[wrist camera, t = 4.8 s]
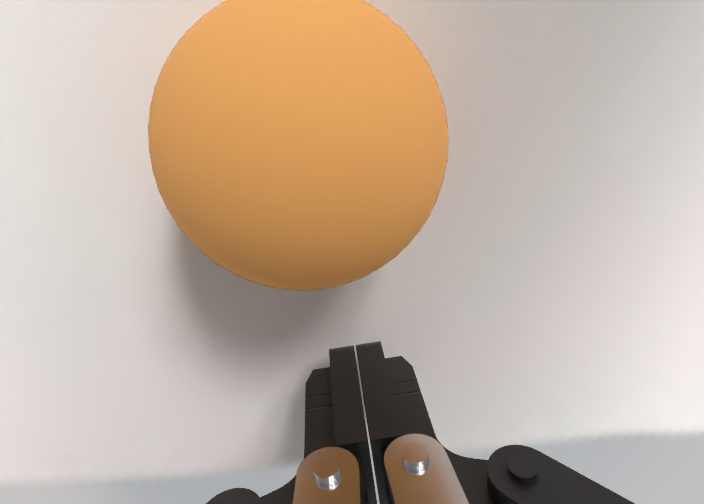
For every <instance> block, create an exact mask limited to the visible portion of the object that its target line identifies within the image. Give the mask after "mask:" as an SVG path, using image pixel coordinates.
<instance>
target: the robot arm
mask: <svg viewBox="0 0 704 504" xmlns="http://www.w3.org/2000/svg"><path fill="white" fill-rule="evenodd" d="M356 350H357V357H358V364H359V371H360V377H361V384H362V391H363V398H364V405H365V411H366V418H367V424H368V431H369V437H370V443H371V450H372V456H373V463H374V469H375V476H376V482H377V488H378V495H379V501H380V504H634V503H633V502H631V501H629V500H627V499H625V498H623V497H622V496H620V495H618V494H616V493H614V492H612V491H610V490H609V489H607V488H605V487H603V486H601V485H600V484H598V483H596V482H594V481H592V480H591V479H588V478H587V477H585V476H583V475H581V474H580V473H578V472H576V471H574V470H572V469H570V468H569V467H567V466H565V465H563V464H561V463H559V462H558V461H556V460H554V459H552V458H550V457H548V456H547V455H545V454H543V453H541V452H539V451H537V450H535V449H533V448H530V447H527V446H522V445H509V446H504V447H502V448H499V449H498V450H496V451H495V452H494V453H493V454H492V455H491V456H490V458H489V460H480V459H473V458H467V457H462V456H459V455H457V454H454V453H452V452H451V451H449V450H447V449H446V448H445V447H444V446H442V444H441V443H440V442H439V441H438V439H437V438H436V435H435V433H434V430H433V427H432V424H431V421H430V418H429V415H428V412H427V409H426V406H425V403H424V400H423V397H422V394H421V392H420V388H419V385H418V382H417V379H416V376H415V373H414V370H413V367H412V366H411V365H410V364H409V363H408V362H407V361H406V360H405V359H404V358H403V357H402V356H399V357H392V358H386V359H385V358H384V354H383V350H382V345H381V342H380V341H379V342H373V343H366V344H360V345H356ZM329 357H330V367H328V368H322V369H315V370H313V371H312V373H311V375H310V376H309V378H308V380H307V382H306V393H305V397H306V400H305V411H306V412H305V449H304V460H303V461H302V463H301V464H300V466H299V468H298V470H297V474H296V476H295V477H294V478H293V479H292V480H291V481H290V482H289V483H287V484H286V485H284V486H283V487H281V488H279V489H277V490H275V491H273V492H271V493H269V494H267V495H265V496H262V497H259V496H258V495H257V494H256V493H255V492H253V491H251V490H249V489H245V488H234V489H230V490H227V491H224V492H222V493H220V494H218V495H216V496H215V497H214V498H212V499H211V500H210V501H209V502H208V503H206V504H377V500H376V493H375V486H374V479H373V472H372V465H371V459H370V452H369V445H368V438H367V431H366V425H365V418H364V411H363V405H362V398H361V391H360V385H359V378H358V371H357V364H356V358H355V351H354V346H347V347H341V348H334V349H329Z"/></svg>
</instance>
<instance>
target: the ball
mask: <svg viewBox="0 0 704 504" xmlns="http://www.w3.org/2000/svg"><path fill="white" fill-rule="evenodd" d="M148 135H149V152H150V158H151V163H152V169H153V173H154V177H155V180H156V183H157V186H158V189H159V192H160V194H161V196H162V198H163V201H164V203H165V205H166V207H167V209H168V211H169V212H170V214H171V216H172V217H173V219H174V220H175V222H176V224H177V225H178V226H179V228H180V229H181V230H182V231H183V233H184V234H185V235H186V236H187V237H188V239H189V240H190V241H191V242H192V243H193V244H194V245H195V246H196V247H197V248H198V249H199V250H200V251H201V252H202V253H204V254H205V255H206V256H208V257H209V258H210V259H212V260H213V261H214V262H215V263H217V264H218V265H220V266H222V267H223V268H225V269H227V270H228V271H230V272H232V273H234V274H236V275H238V276H240V277H242V278H245V279H247V280H249V281H252V282H255V283H258V284H262V285H265V286H269V287H274V288H280V289H287V290H318V289H324V288H330V287H335V286H339V285H342V284H346V283H349V282H352V281H354V280H357V279H359V278H361V277H364V276H366V275H368V274H370V273H372V272H373V271H375V270H377V269H379V268H380V267H382V266H383V265H385V264H386V263H387V262H389V261H390V260H392V259H393V258H394V257H396V256H397V255H398V254H399V253H400V252H401V251H402V250H403V249H404V248H405V247H406V246H407V245H408V244H409V243H410V242H411V241H412V239H413V238H414V237H415V236H416V235H417V233H418V232H419V231H420V229H421V228H422V226H423V225H424V223H425V221H426V220H427V218H428V217H429V215H430V213H431V211H432V209H433V207H434V204H435V202H436V200H437V197H438V194H439V191H440V188H441V185H442V182H443V178H444V173H445V168H446V163H447V154H448V127H447V118H446V113H445V107H444V102H443V99H442V96H441V93H440V90H439V87H438V84H437V82H436V80H435V77H434V75H433V73H432V71H431V69H430V67H429V65H428V63H427V62H426V60H425V59H424V57H423V56H422V54H421V52H420V51H419V49H418V48H417V46H416V45H415V44H414V43H413V41H412V40H411V39H410V38H409V37H408V36H407V34H406V33H405V32H404V31H403V30H402V29H401V28H400V27H399V26H398V25H397V24H396V23H394V22H393V21H392V20H391V19H390V18H389V17H388V16H387V15H385V14H384V13H382V12H381V11H379V10H378V9H376V8H375V7H373V6H372V5H370V4H369V3H367V2H365V1H363V0H227V1H225V2H223V3H221V4H220V5H218V6H217V7H215V8H214V9H212V10H211V11H209V12H208V13H206V14H205V15H204V16H203V17H202V18H201V19H199V20H198V21H197V22H196V23H195V24H194V25H193V26H192V27H191V28H190V29H189V30H188V31H187V32H186V33H185V34H184V36H183V37H182V38H181V39H180V41H179V42H178V43H177V44H176V46H175V47H174V48H173V50H172V52H171V53H170V55H169V57H168V59H167V60H166V62H165V64H164V66H163V68H162V70H161V73H160V75H159V78H158V80H157V83H156V85H155V89H154V93H153V97H152V101H151V106H150V114H149V125H148Z"/></svg>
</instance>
